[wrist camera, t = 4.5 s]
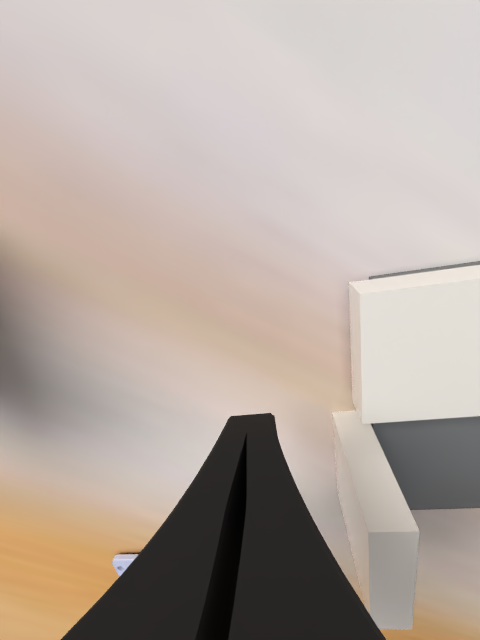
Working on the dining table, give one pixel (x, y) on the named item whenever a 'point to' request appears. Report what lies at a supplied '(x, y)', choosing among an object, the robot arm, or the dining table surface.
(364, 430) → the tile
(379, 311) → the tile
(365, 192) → the dining table surface
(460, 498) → the mat
